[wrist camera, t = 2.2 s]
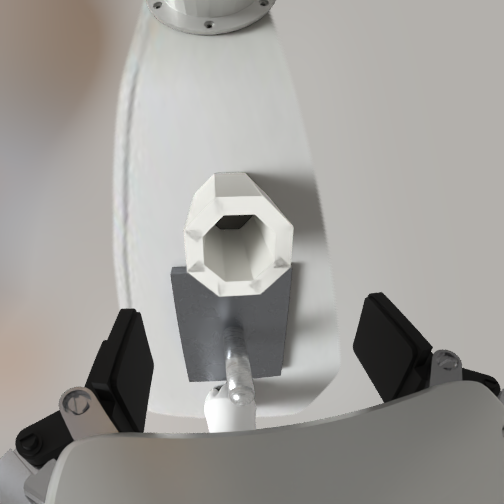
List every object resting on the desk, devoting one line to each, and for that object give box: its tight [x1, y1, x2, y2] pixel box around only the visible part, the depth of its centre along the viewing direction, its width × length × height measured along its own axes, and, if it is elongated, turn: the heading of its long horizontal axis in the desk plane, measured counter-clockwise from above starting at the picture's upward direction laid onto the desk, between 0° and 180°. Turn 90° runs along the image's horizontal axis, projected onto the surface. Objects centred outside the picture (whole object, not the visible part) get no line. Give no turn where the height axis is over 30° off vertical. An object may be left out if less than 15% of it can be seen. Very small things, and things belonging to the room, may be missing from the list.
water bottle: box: [204, 383, 256, 433], centre depth 26 cm, size 7×7×25 cm
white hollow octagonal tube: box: [183, 173, 294, 297], centre depth 22 cm, size 7×7×10 cm
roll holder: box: [171, 267, 292, 406], centre depth 27 cm, size 16×12×11 cm
